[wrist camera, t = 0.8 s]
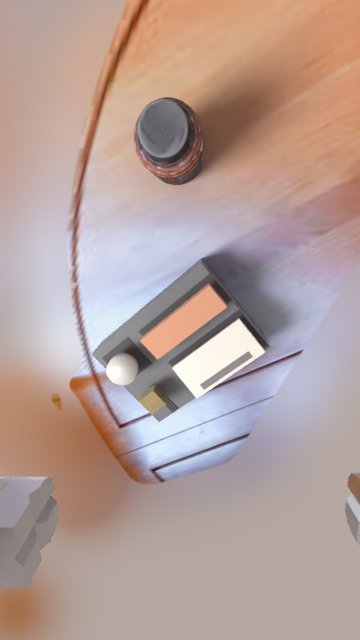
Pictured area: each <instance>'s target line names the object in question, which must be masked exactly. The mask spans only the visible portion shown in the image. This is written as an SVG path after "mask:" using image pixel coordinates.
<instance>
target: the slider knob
mask: <svg viewBox="0 0 360 640" xmlns="http://www.w3.org/2000/svg"><path fill="white" fill-rule="evenodd" d="M167 398H168V397H167V396H166V395H165V394H164V393H163V392H162V391H161V390H160V388H159V387H158V386H157V385H156V384H154V385H153V386H152V387H150V388H149V389H147V390H146V391H145V392H143V393H142V394H141V396H140V399H139V402H140V403H141V404H142V405H143V406H144V407H145V408H146V409H147V410H148V411H149V412H150V413H151V414H153V413H155V412H156V411H157V410H159V409H160V408H162V407H163V406H165V405H166V403H167Z"/></svg>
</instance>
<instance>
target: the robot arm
mask: <svg viewBox="0 0 360 640" xmlns="http://www.w3.org/2000/svg"><path fill="white" fill-rule="evenodd" d="M348 487H349V489H350V491H351V492H352V494H351V495H350V496H349V497H348V498H347V499H346V508H345V511H346V517H347V522H348V525H349V527H350V530H351V532H352V534H353V536H354V538H355V540H356V542H357V543H359V544H360V473H351V475H350V476H349V478H348ZM53 490H54V484H53V480H52V478H50V477H27V476H25V477H24V476H22V477H21V476H15V477H2V476H1V477H0V589H1V588H2V589H5V588H28V586H29V584H30V582H31V580H32V578H33V576H34V574H35V572H36V570H37V568H38V566H39V564H40V562H41V554H40V550H41V549H42V548H43V547H45V546H46V545H47V544H48V543H49V542H50V541H51V538H52V536H53V534H54V532H55V528H56V524H57V520H58V505H57V502H56V501H55V499H53V498H52V496H51V494H52V492H53Z"/></svg>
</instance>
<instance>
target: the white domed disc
mask: <svg viewBox="0 0 360 640" xmlns="http://www.w3.org/2000/svg"><path fill="white" fill-rule="evenodd" d="M138 369H139V366H138V362H137V360H136V359H135V358H134V357H133V356H131V355H130V354H127V353H119V354H116V355H115V356H113V357H112V359H111V360H110V362H109V363H108V365H107V368H106V373H107V376H108V378H109V379H110V380H111V381H112V382H114V383H115V384H118V385H127V384H130V383H131V382H133V381H134V379H135V377H136V375H137V372H138Z"/></svg>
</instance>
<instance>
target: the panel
mask: <svg viewBox="0 0 360 640" xmlns="http://www.w3.org/2000/svg"><path fill="white" fill-rule="evenodd" d="M208 283H210V284H211V286H212V287H213V288H214V289H215V290H216V292H217V293H218V294H219V295H220V296H221V298H222V299H223V300H224V301H225V303H226V304H227V308H225V309H224V310H223V311H221V312H220V313H219V314H217V315H216V316H215V317H213V318H212V319H211V320H209V321H208V322H207V323H205V324H204V325H203V326H201V327H200V328H199V329H198V330H196V331H195V332H194V333H192V334H191V335H190V336H188V337H187V338H186V339H184V340H183V341H182V342H180V343H179V344H178V345H176V346H175V347H174V348H172V349H171V350H170V351H168V352H167V353H166V354H164V355H163V356H162V357H161V358H159V359H158V360H157V359H156V357H155V356H154V355H153V354H152V353H151V352H150V351H149V350H148V349H147V348H146V347H145V346H144V345H143V344H142V343H141V342H140V340H141V338H142V336H143V335H145V334H146V333H147V332H148V331H150V330H151V329H152V328H153V327H155V326H156V325H157V324H158V323H160V322H161V321H162V320H163V319H165V318H166V317H167V316H168V315H170V314H171V313H172V312H173V311H175V310H176V309H177V308H178V307H180V306H181V305H182V304H183V303H185V302H186V301H187V300H188V299H190V298H191V297H192V296H193V295H195V294H196V293H197V292H198V291H200V290H201V289H202V288H203V287H205V286H206V285H207V284H208ZM238 318H240V319H241V321H242V322H243V323H244V324H245V326H246V327H247V328H248V330H249V331H250V332H251V333H252V335H253V336H254V337H255V338H256V340H257V341H258V342H259V343H260V345H261V346H262V347H263V348H264V350H266V349H268V348H269V347H270V346H269V344H268V342H267V340H266V338H265V336H264V334H263V333H262V332H261V330H260V329H259V328H258V327H257V326H256V324H255V323H254V322H253V321H252V319H251V318H250V317H249V316H248V315H247V313H246V312H245V311H244V310H243V308H242V307H241V306H240V305H239V304H238V302H237V301H236V300H235V299H234V297H233V296H232V295H231V294H230V293H229V291H228V290H227V289H226V288H225V286H224V285H223V284H222V283H221V282H220V280H219V279H218V278H217V277H216V275H215V274H214V273H213V272H212V271H211V269H210V268H209V267H208V266H207V264H206V263H205V262H204V261H203V260H202V259H200V260H199V261H198V262H197V263H196V264H194V265H193V266H192V267H191V268H190V269H188V270H187V271H186V272H185V273H184V274H182V275H181V276H180V277H179V278H178V279H176V280H175V281H174V282H173V283H172V284H171V285H169V286H168V287H167V288H166V289H165V290H163V291H162V292H161V293H160V294H159V295H157V296H156V297H155V298H154V299H153V300H151V301H150V302H149V303H148V304H147V305H145V306H144V307H143V308H142V309H141V310H139V311H138V312H137V313H136V314H135V315H133V316H132V317H131V318H130V319H129V320H128V321H126V322H125V323H124V324H123V325H122V326H120V327H119V328H118V329H117V330H116V331H114V332H113V333H112V334H111V335H110V336H108V337H107V338H106V339H105V340H104V341H102V342H101V344H100V345H99V346H98V347H97V349H96V350H95V351H94V352H93V354H92V355H93V356H94V357H95V358H96V359H97V360H98V361H99V362H100V363H101V364H102V365H103V366H104V367H105V368H107V365H108V363H109V362H110V360H111V359H112V357H113V356H115V355H116V354H119V353H127V354H130V355H131V356H133V357H134V358H135V359H136V360H137V362H138V366H139V369H138V372H137V375H136V377H135V379H134V381H133V382H131V383H130V384H127V385H123V386H124V387H125V388H126V389H127V390H128V391H129V392H130V393H131V394H132V395H133V396H134V397H135V398H136V399H137V400H138V401H139V399H140V396H141V394H142V393H143V392H145V391H146V390H147V389H149V388H150V387H152V386H153V385H154V384H156V385H157V386H158V387H159V388H160V390H161V391H162V392H163V393H164V394H165V395H166V396H167V397H168V398H167V403H166V405H165V406H163V407H162V408H160V409H159V410H157V411H156V412H155V413H153V414H152V415H153V416H154V417H155V418H156V419H157V420H158V421H159V422H160V421H161V420H163V419H164V418H166V417H167V416H169V415H170V414H172V413H173V412H175V411H176V410H178V409H179V408H181V407H182V406H184V405H185V404H186V403H188V402H189V401H191V400H192V399H194V398H195V396H194V395H193V394H192V392H191V391H190V390H189V389H188V387H187V386H186V385H185V384H184V382H183V381H182V380H181V379H180V378H179V376H178V375H177V374H176V373H175V371H174V370H173V369H172V367H173V366H174V365H175V364H176V363H178V362H179V361H181V360H182V359H183V358H185V357H186V356H187V355H189V354H190V353H191V352H193V351H194V350H195V349H197V348H198V347H200V346H201V345H202V344H204V343H205V342H206V341H208V340H209V339H210V338H212V337H213V336H215V335H216V334H217V333H219V332H220V331H221V330H223V329H224V328H225V327H227V326H228V325H230V324H231V323H232V322H234V321H235V320H236V319H238Z"/></svg>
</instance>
